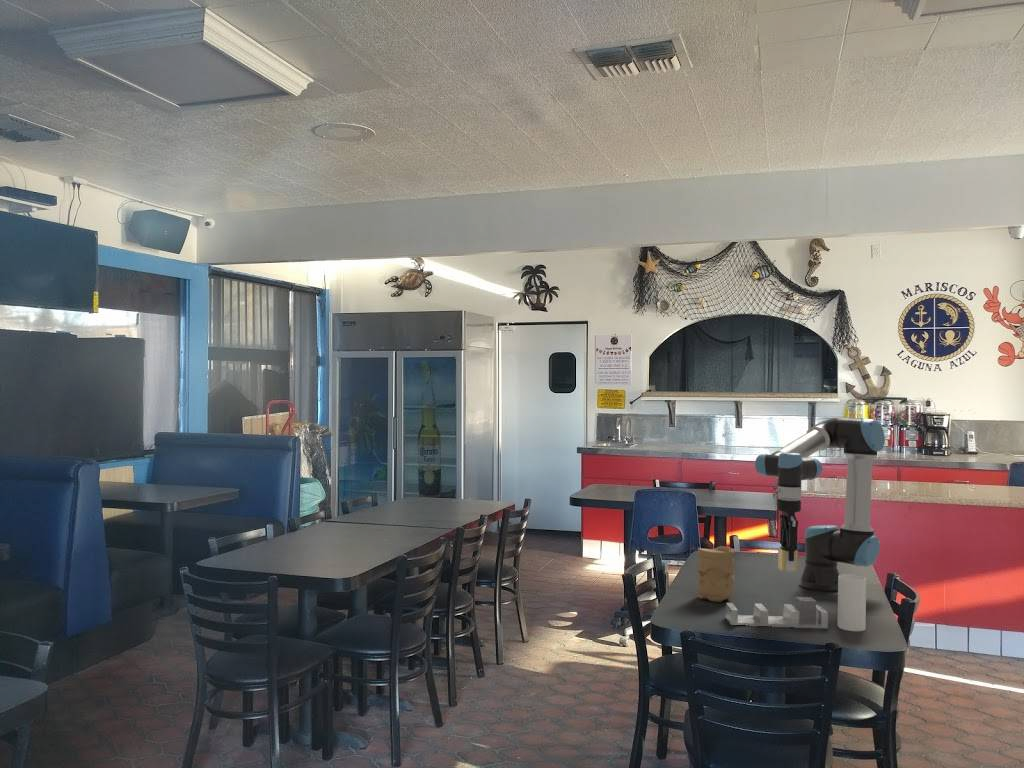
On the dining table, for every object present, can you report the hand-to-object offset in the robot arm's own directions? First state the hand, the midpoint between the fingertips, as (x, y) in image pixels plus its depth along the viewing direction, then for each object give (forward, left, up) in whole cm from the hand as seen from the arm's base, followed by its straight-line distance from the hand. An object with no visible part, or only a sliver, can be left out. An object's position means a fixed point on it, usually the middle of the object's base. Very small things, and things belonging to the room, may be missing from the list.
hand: (787, 568), depth 283 cm
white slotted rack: (+7, +11, -15) cm, 20 cm away
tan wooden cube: (0, 0, 0) cm, 0 cm away
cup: (-16, +14, -15) cm, 26 cm away
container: (+21, -17, -15) cm, 31 cm away
